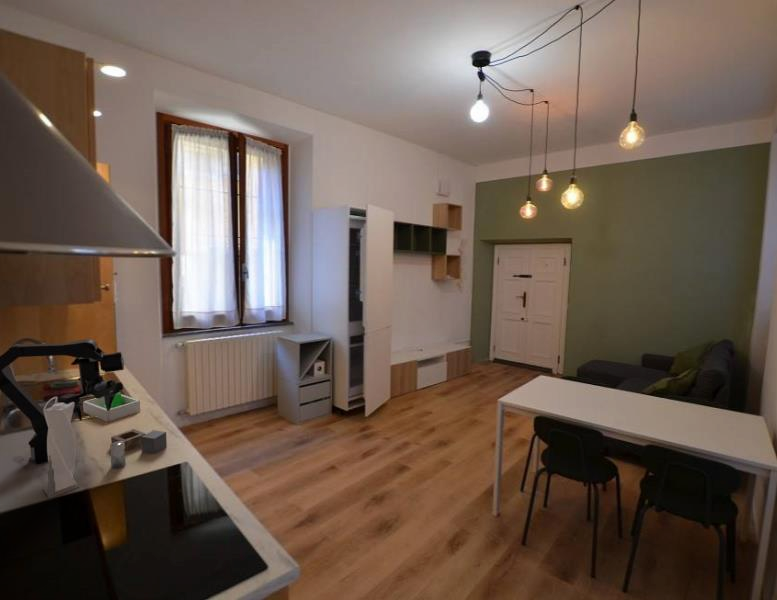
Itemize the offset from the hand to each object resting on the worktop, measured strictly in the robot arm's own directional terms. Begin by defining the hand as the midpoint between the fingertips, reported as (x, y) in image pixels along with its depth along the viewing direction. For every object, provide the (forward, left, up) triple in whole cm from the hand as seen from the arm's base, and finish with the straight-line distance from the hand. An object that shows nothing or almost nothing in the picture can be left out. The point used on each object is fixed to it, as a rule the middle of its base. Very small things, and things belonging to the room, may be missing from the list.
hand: (94, 415), depth 142 cm
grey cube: (+11, -18, -13) cm, 25 cm away
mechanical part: (+22, +32, -13) cm, 41 cm away
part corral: (+22, +32, -13) cm, 41 cm away
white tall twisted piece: (-17, -17, -13) cm, 28 cm away
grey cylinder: (-2, -19, -13) cm, 23 cm away
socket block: (+8, -7, -13) cm, 17 cm away
